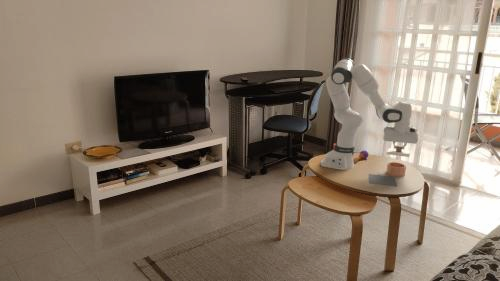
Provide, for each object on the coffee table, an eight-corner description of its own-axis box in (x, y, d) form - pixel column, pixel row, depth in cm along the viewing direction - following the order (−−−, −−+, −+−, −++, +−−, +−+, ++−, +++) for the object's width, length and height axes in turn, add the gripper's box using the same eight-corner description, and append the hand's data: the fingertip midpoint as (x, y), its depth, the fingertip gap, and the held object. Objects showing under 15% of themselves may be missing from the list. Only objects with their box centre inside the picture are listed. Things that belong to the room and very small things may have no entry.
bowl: (387, 175, 244) (388, 166, 242) (386, 169, 254) (387, 161, 252) (405, 177, 241) (406, 168, 240) (403, 171, 251) (404, 163, 250)
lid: (386, 154, 240) (387, 147, 239) (388, 149, 252) (389, 143, 251) (408, 157, 235) (409, 150, 234) (410, 152, 246) (410, 145, 245)
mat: (368, 183, 231) (368, 183, 231) (368, 174, 245) (368, 173, 245) (397, 187, 227) (397, 186, 227) (394, 177, 241) (394, 176, 241)
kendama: (348, 157, 265) (361, 149, 279) (349, 165, 266) (362, 157, 280) (356, 158, 261) (369, 149, 275) (357, 166, 262) (370, 157, 276)
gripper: (384, 127, 239) (381, 148, 243) (419, 130, 233) (416, 151, 237) (383, 125, 244) (381, 145, 248) (418, 127, 239) (415, 148, 243)
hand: (398, 148), depth 243 cm, fingers closed on lid, 3 cm apart
